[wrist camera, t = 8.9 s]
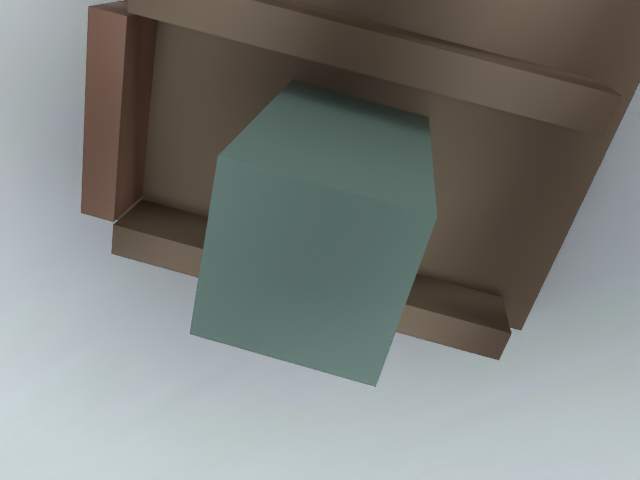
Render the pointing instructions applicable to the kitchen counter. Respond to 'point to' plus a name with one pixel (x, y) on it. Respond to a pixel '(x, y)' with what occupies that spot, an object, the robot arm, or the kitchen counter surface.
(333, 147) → the green block
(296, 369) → the kitchen counter surface
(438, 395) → the kitchen counter surface
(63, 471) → the kitchen counter surface
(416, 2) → the divided brown tray
